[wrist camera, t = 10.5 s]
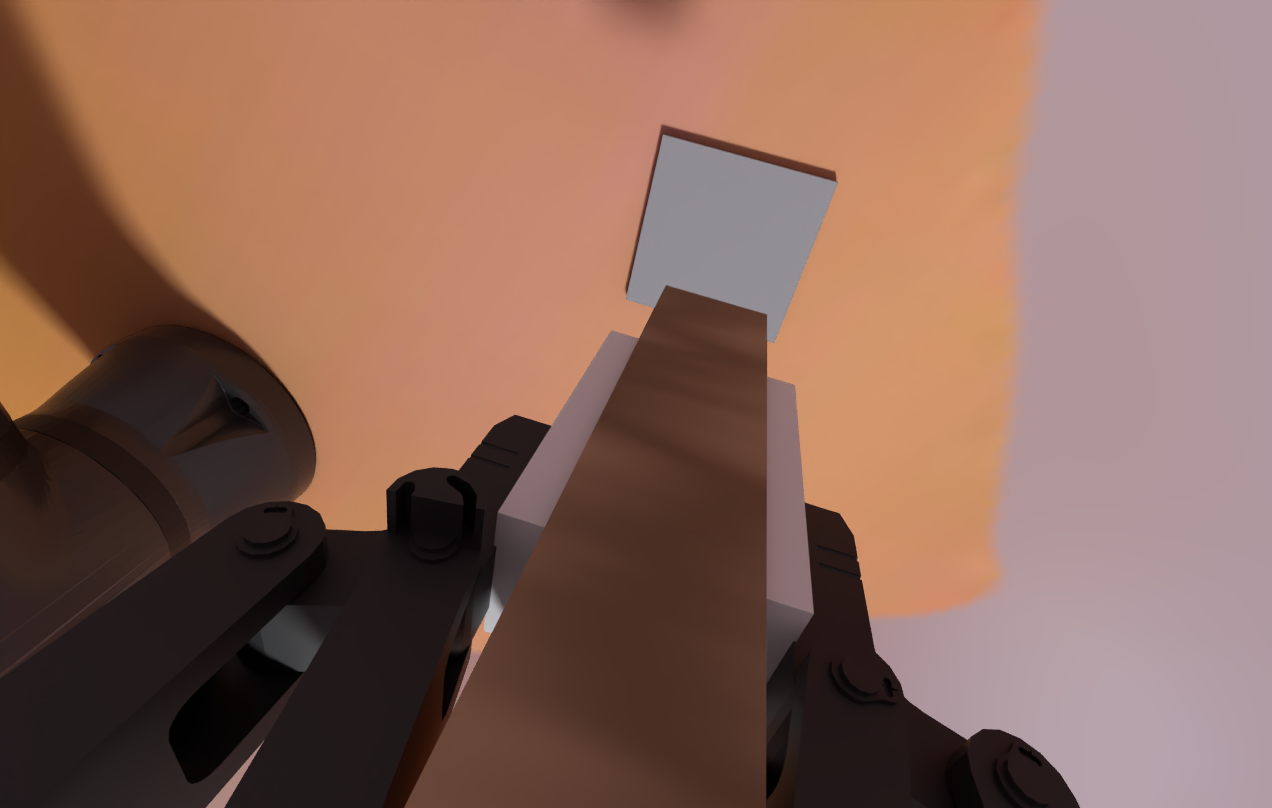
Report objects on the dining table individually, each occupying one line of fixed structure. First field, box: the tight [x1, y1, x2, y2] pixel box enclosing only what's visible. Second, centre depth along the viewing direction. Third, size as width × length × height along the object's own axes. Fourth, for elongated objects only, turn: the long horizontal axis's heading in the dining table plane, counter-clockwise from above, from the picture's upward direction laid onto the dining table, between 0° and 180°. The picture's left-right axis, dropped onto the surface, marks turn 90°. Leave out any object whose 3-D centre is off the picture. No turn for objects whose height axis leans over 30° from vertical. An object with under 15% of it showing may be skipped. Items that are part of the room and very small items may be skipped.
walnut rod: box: [404, 285, 767, 808], centre depth 10 cm, size 3×3×16 cm
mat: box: [626, 134, 838, 343], centre depth 27 cm, size 8×8×1 cm
